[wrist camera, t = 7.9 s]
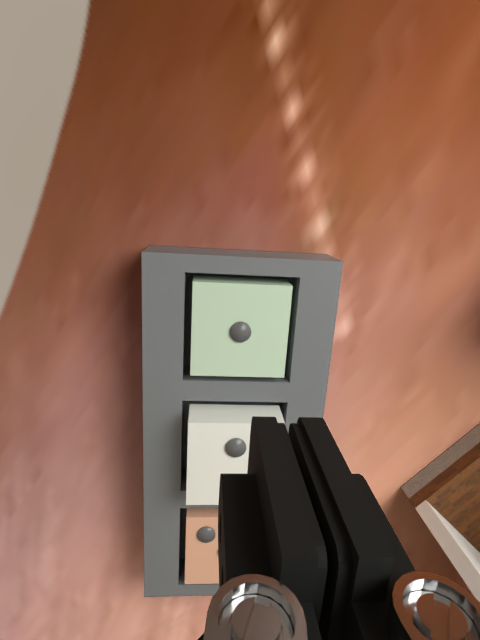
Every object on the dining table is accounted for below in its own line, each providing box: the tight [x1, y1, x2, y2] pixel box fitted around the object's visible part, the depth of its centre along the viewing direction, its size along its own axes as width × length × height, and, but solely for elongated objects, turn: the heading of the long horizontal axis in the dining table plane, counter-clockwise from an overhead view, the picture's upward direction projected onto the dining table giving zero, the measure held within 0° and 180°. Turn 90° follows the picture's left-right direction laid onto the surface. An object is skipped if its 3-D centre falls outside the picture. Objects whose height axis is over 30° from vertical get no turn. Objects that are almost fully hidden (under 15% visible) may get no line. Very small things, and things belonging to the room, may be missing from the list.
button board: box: [141, 245, 343, 597], centre depth 25 cm, size 22×10×3 cm, turn 177°
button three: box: [185, 508, 219, 584], centre depth 26 cm, size 5×5×2 cm
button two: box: [186, 404, 285, 505], centre depth 23 cm, size 5×5×2 cm
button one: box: [190, 275, 293, 378], centre depth 22 cm, size 5×5×2 cm
